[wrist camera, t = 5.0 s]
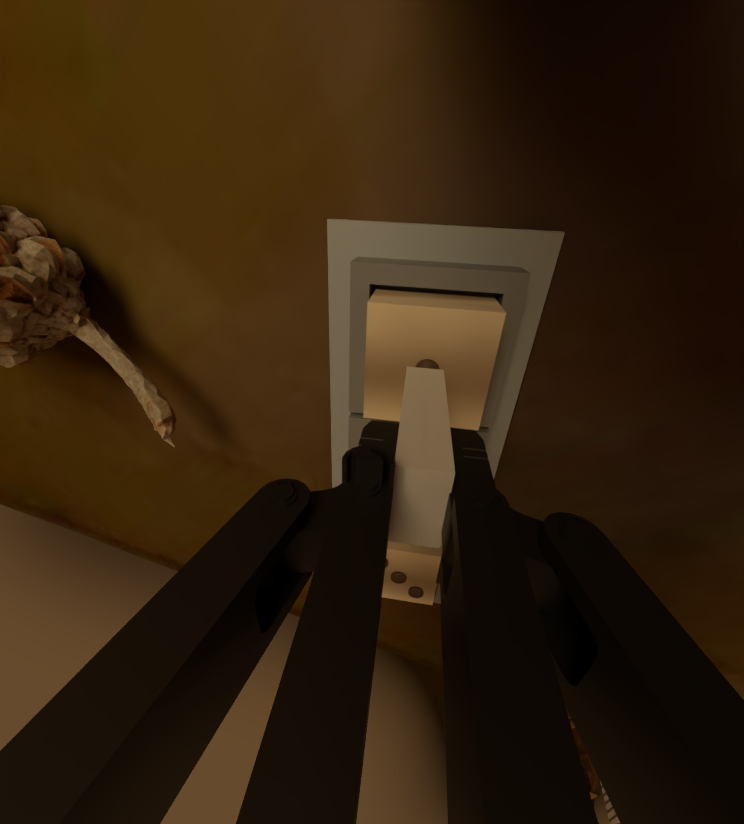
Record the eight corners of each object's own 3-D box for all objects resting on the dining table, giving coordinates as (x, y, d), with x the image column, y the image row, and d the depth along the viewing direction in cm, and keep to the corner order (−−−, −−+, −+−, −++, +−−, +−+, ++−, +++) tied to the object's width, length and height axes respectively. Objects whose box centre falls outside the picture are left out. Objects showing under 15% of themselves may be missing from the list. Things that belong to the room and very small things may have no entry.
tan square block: (376, 289, 18) (366, 303, 15) (494, 297, 17) (507, 314, 15) (371, 392, 21) (362, 419, 18) (472, 402, 20) (478, 432, 18)
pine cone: (-79, 245, 24) (-364, 264, 15) (-82, 93, 19) (-488, 0, 11) (206, 428, 28) (110, 522, 20) (258, 340, 24) (163, 412, 15)
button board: (332, 218, 19) (315, 220, 16) (557, 231, 18) (581, 234, 15) (336, 564, 35) (328, 596, 32) (459, 583, 33) (462, 619, 30)
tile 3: (367, 514, 28) (361, 547, 26) (441, 525, 28) (443, 559, 25) (365, 562, 31) (359, 595, 29) (432, 572, 31) (432, 607, 28)
